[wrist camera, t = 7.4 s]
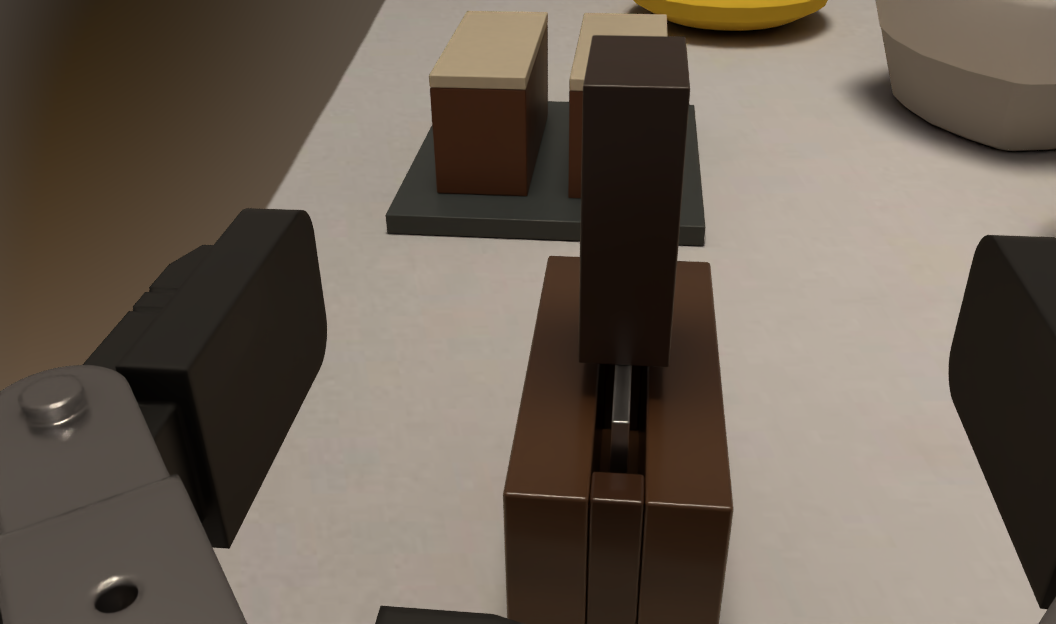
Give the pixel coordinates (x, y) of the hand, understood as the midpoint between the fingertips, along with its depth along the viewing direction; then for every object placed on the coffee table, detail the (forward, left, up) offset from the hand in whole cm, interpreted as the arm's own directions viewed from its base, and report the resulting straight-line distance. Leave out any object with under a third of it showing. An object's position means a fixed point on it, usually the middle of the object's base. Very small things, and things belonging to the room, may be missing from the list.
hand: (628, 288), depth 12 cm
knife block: (+8, +8, -16) cm, 19 cm away
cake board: (+24, +31, -16) cm, 42 cm away
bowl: (+51, +20, -16) cm, 57 cm away
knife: (+8, +8, -15) cm, 18 cm away
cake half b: (+22, +33, -15) cm, 42 cm away
